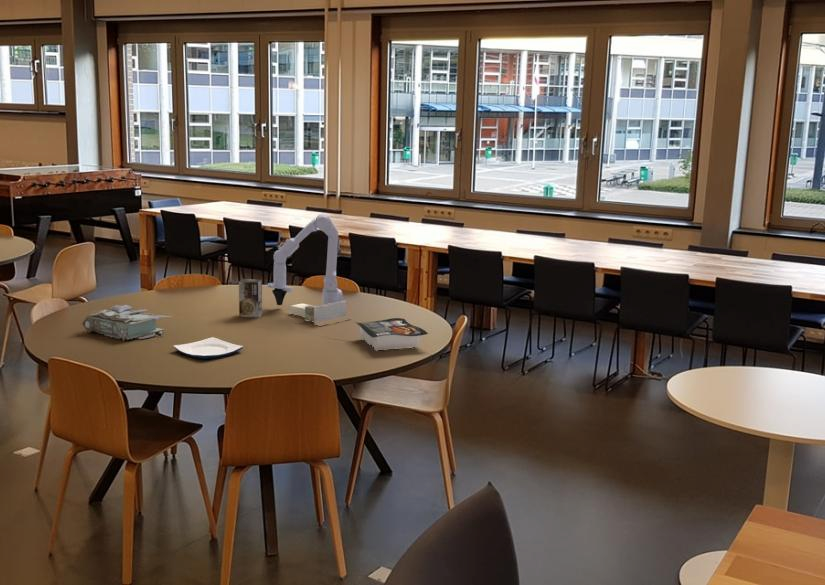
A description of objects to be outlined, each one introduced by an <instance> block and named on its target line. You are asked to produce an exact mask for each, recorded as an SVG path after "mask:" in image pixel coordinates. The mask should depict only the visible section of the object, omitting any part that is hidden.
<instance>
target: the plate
mask: <svg viewBox="0 0 825 585" xmlns="http://www.w3.org/2000/svg"><path fill="white" fill-rule="evenodd" d="M172 346H173V347H172V348H174V349H175V350H177V351H178V352H179V353H181V354H184V355H186V356H188V357H191V356H192V358H196V359H201V360H202V359H203V360H204V359H206V360H207V359H208V358H209V359H216V358H217V359H218V358H222V357H226V356H229V355H232V354H234V353H236V352H239V351H241V350H242V349H243V348H244V345H239V344H234V343H230V342H228V341H225V340H223V339H220V338H217V337H213V336H212V337H209V338H205V339H202V340H197V341H194V342H188V343H184V344H175V345H172Z"/></svg>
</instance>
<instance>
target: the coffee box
mask: <svg viewBox="0 0 825 585" xmlns="http://www.w3.org/2000/svg"><path fill="white" fill-rule="evenodd" d="M238 299H239V300H238V312H239V314H238V315H239V316H241V317H240V318H260V317H261V316H263V279H251V278H250V279H249V278H242V279H241V280H239V281H238ZM239 316H238V317H239Z"/></svg>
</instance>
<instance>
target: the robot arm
mask: <svg viewBox="0 0 825 585" xmlns="http://www.w3.org/2000/svg"><path fill="white" fill-rule="evenodd" d="M318 230H319V231H322V232H323V233H324V234H325V235H326V236H327V237H328V239H327V254H326V255H327V256H326V269H325V276H324V277H323V281H322V282H323V288H322V304H321V305H326V303H336V302H340V301H344V295H343V294H344V293H343V291H342V290H341V289H339V288H338V285H339V284H338V280H337V262H338V260H337V259H338V246H339V244H338V243H339V231H338V229H337V227H336V226H335V224H334V223H333V221H332V219H331V218H330V217H329V216H327V215H326V214H318V215H317V217H315V218H314V219H312V220H311V221H310V222H309V223H307V225H306V226H304V228H302V230H300V231H299V232H298V234H297V235H296V236H295V237H291V238H290V237H289V238H286V240H285V243H283V244H282V245H281V246H279V247H278V248H277V249H278V250H275V252H274V253H273V261H274V262H273V282H268V283H267V288H271V289H272V294H273V296H274V299H275V302H276V305H277V306H282V305H283V302H284V299H285V296H286V294H287V293H292V292H293V287H291V286H288V285H287V266H286V262H287V258H288V257H290V256H292V255H293V253H295V251H297V250H298V248H300V243H301V242H302V241H303V240H304V239H306V237H308V236H309V235H310V234H311V233H314V232H318Z"/></svg>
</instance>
